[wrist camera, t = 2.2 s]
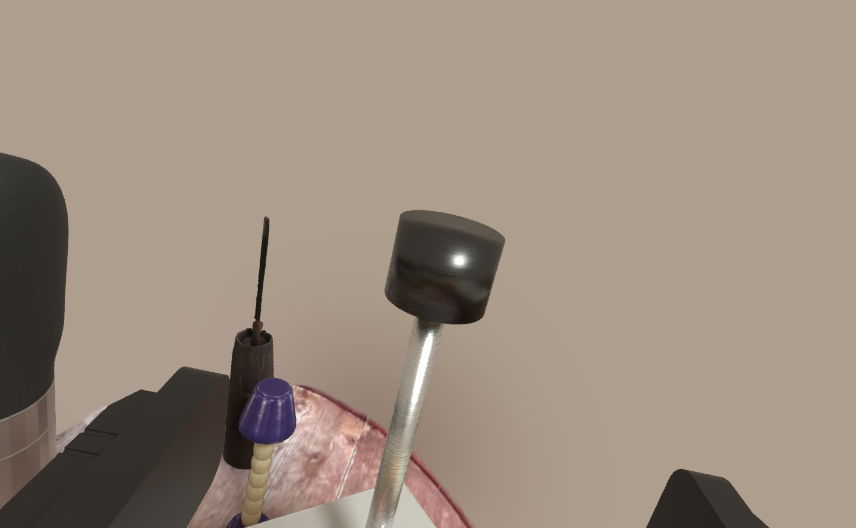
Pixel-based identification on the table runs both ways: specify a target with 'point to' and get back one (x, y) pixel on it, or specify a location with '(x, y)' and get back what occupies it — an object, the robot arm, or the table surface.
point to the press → (352, 514)
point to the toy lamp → (264, 441)
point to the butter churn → (247, 373)
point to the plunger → (429, 322)
